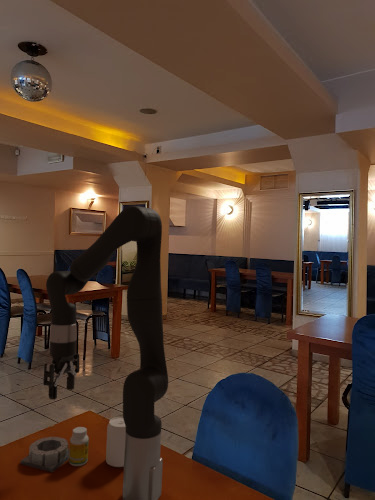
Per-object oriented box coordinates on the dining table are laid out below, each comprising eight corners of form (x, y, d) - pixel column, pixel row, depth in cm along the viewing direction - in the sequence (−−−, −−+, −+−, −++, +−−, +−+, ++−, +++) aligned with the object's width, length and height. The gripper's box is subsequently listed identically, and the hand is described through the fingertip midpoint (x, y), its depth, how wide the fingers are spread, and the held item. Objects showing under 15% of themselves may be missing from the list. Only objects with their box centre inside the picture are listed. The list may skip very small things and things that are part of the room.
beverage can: (100, 463, 117) (101, 423, 117) (117, 451, 124) (118, 413, 124) (122, 471, 114) (124, 430, 113) (138, 459, 121) (140, 419, 121)
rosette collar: (75, 453, 122) (75, 440, 122) (52, 472, 112) (52, 458, 112) (45, 446, 126) (45, 434, 126) (20, 464, 115) (21, 450, 115)
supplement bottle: (69, 457, 120) (71, 426, 120) (87, 456, 121) (89, 425, 121) (68, 467, 114) (69, 434, 114) (87, 466, 116) (88, 433, 116)
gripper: (59, 345, 109) (58, 404, 109) (87, 335, 123) (86, 387, 123) (36, 342, 111) (35, 400, 111) (66, 333, 125) (65, 384, 125)
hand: (61, 393), depth 117 cm, fingers open, 8 cm apart
